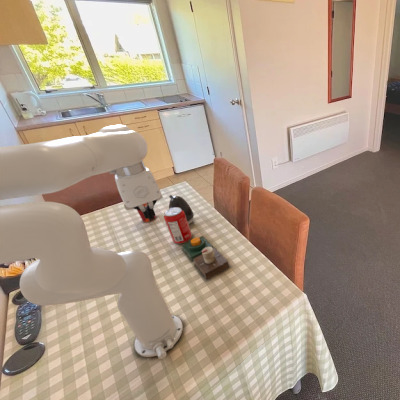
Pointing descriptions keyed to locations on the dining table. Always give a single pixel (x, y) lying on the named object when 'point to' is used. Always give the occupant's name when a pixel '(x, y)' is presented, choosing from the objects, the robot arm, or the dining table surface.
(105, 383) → the dining table surface
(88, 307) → the dining table surface
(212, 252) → the dimmer knob
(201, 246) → the switch box
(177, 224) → the soda can
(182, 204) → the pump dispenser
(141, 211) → the paper cup
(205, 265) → the dimmer panel
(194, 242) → the power button
